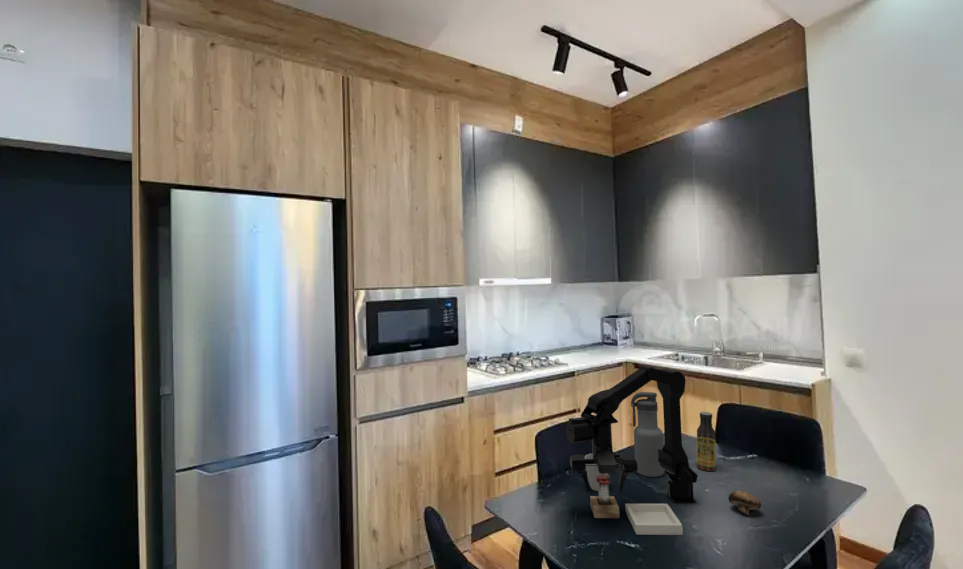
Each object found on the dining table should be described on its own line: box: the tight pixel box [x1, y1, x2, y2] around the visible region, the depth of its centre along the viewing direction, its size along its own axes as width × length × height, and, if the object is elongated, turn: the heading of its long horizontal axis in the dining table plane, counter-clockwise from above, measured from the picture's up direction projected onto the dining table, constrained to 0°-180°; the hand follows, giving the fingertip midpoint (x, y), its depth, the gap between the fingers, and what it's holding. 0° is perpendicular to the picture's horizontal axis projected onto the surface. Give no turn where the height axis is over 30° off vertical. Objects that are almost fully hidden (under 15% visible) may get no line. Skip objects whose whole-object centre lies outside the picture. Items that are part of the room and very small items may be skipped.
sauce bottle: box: [696, 411, 717, 472], centre depth 158 cm, size 7×6×20 cm
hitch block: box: [589, 495, 620, 519], centre depth 130 cm, size 7×7×3 cm
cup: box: [584, 452, 611, 492], centre depth 146 cm, size 8×8×10 cm
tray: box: [624, 503, 684, 536], centre depth 123 cm, size 12×12×2 cm
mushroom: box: [728, 490, 762, 516], centre depth 127 cm, size 8×8×6 cm
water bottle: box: [630, 391, 665, 478], centre depth 157 cm, size 10×10×28 cm
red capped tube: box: [596, 475, 611, 505], centre depth 130 cm, size 4×4×10 cm
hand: (604, 491), depth 130 cm, fingers open, 9 cm apart
